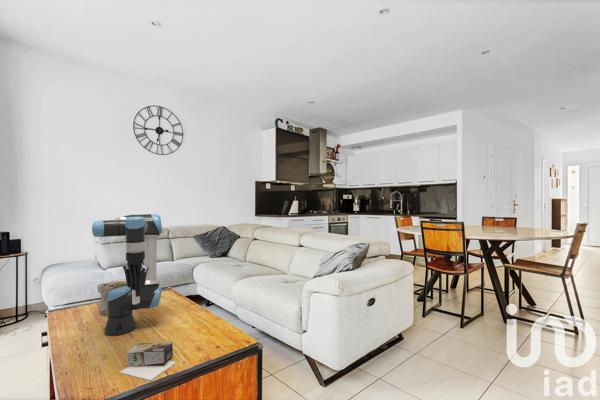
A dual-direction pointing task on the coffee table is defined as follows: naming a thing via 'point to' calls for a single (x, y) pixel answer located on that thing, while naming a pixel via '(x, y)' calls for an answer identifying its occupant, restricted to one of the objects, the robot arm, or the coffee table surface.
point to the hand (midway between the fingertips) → (136, 303)
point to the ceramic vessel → (105, 290)
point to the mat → (146, 371)
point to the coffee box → (150, 354)
